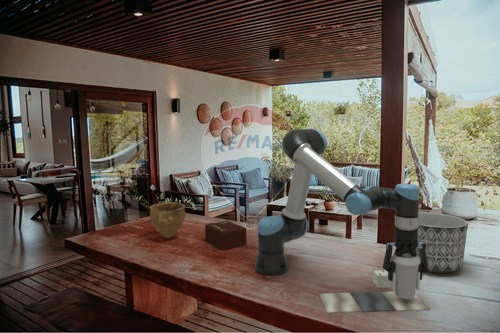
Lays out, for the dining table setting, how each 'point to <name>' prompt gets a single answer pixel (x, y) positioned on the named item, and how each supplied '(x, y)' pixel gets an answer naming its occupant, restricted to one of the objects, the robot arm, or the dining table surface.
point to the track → (369, 302)
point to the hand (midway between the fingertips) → (404, 288)
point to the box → (225, 235)
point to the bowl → (167, 218)
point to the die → (381, 279)
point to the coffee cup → (406, 275)
